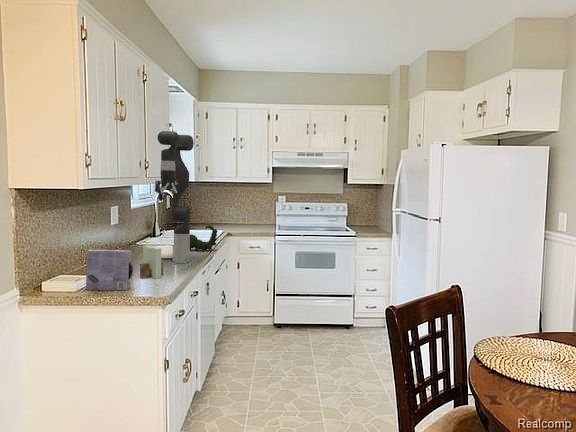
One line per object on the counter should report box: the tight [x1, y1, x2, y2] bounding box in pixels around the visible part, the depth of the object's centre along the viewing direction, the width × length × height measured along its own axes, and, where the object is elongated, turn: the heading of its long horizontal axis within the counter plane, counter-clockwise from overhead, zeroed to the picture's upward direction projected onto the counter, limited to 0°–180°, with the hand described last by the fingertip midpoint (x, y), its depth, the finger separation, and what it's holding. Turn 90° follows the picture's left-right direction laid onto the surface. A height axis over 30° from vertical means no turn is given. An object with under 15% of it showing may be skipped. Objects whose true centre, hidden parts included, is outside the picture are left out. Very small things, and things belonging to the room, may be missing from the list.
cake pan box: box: [85, 249, 134, 291], centre depth 203 cm, size 19×5×18 cm, turn 99°
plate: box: [153, 244, 173, 259], centre depth 290 cm, size 28×6×27 cm
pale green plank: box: [142, 245, 162, 280], centre depth 231 cm, size 11×3×15 cm, turn 51°
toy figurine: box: [190, 225, 218, 252], centre depth 313 cm, size 9×19×25 cm
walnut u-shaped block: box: [139, 260, 164, 279], centre depth 231 cm, size 12×2×7 cm, turn 141°
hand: (167, 200), depth 241 cm, fingers open, 8 cm apart
